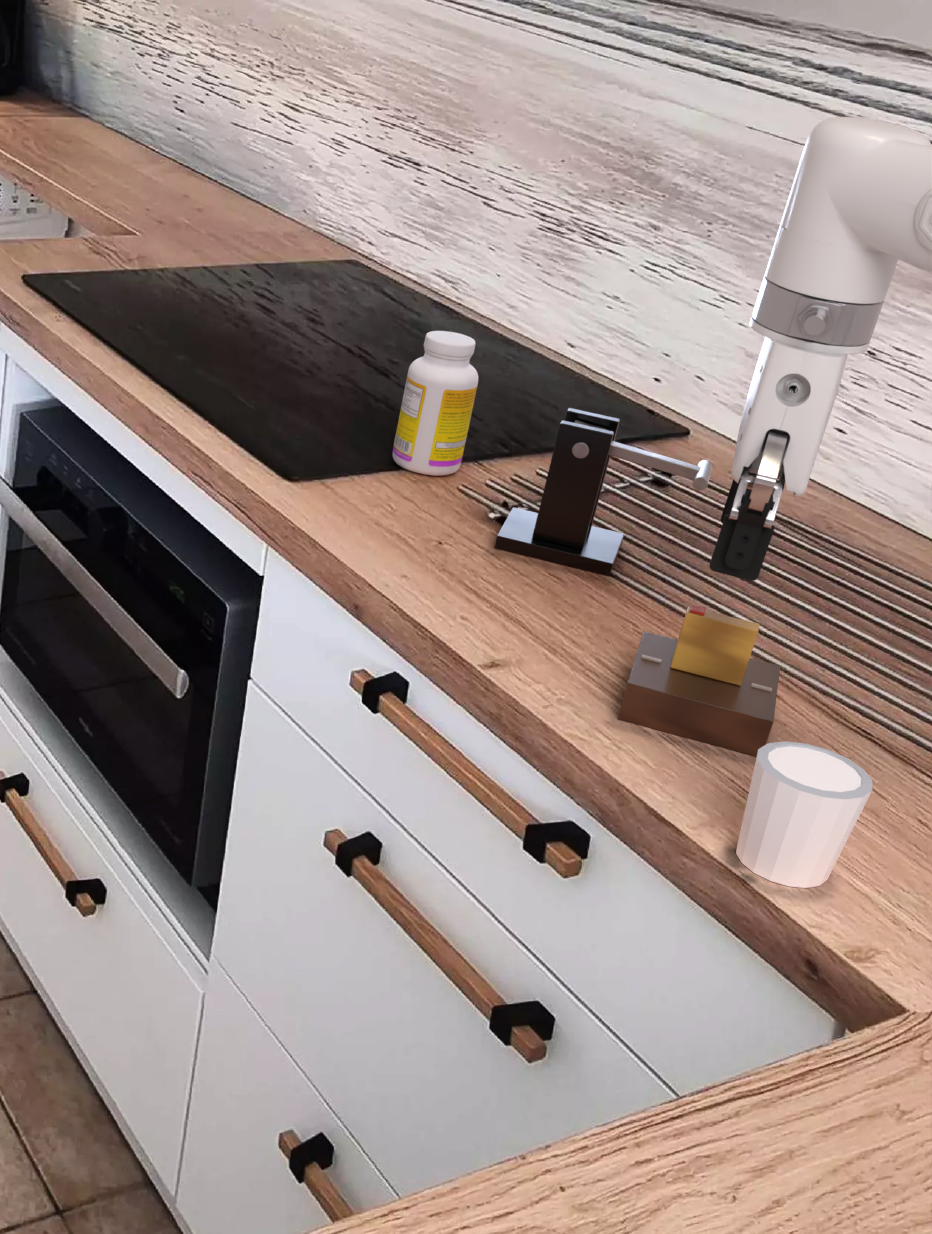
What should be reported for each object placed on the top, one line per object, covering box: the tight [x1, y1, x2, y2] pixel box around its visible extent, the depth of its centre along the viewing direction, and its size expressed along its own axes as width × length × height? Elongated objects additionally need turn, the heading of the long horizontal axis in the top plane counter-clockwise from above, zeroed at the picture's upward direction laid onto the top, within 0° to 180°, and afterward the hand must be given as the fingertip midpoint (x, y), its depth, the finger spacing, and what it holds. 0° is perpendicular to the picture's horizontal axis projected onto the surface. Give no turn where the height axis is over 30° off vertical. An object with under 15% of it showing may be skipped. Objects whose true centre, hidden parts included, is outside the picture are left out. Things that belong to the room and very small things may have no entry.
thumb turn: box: [670, 604, 760, 686], centre depth 126 cm, size 5×1×5 cm, turn 67°
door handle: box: [574, 420, 714, 491], centre depth 148 cm, size 12×5×2 cm, turn 67°
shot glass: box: [735, 740, 873, 889], centre depth 109 cm, size 7×7×7 cm
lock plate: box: [617, 630, 781, 758], centre depth 127 cm, size 10×10×3 cm
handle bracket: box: [494, 407, 625, 577], centre depth 151 cm, size 10×8×12 cm
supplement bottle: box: [392, 330, 479, 477], centre depth 167 cm, size 7×7×13 cm
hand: (737, 550), depth 123 cm, fingers open, 9 cm apart
